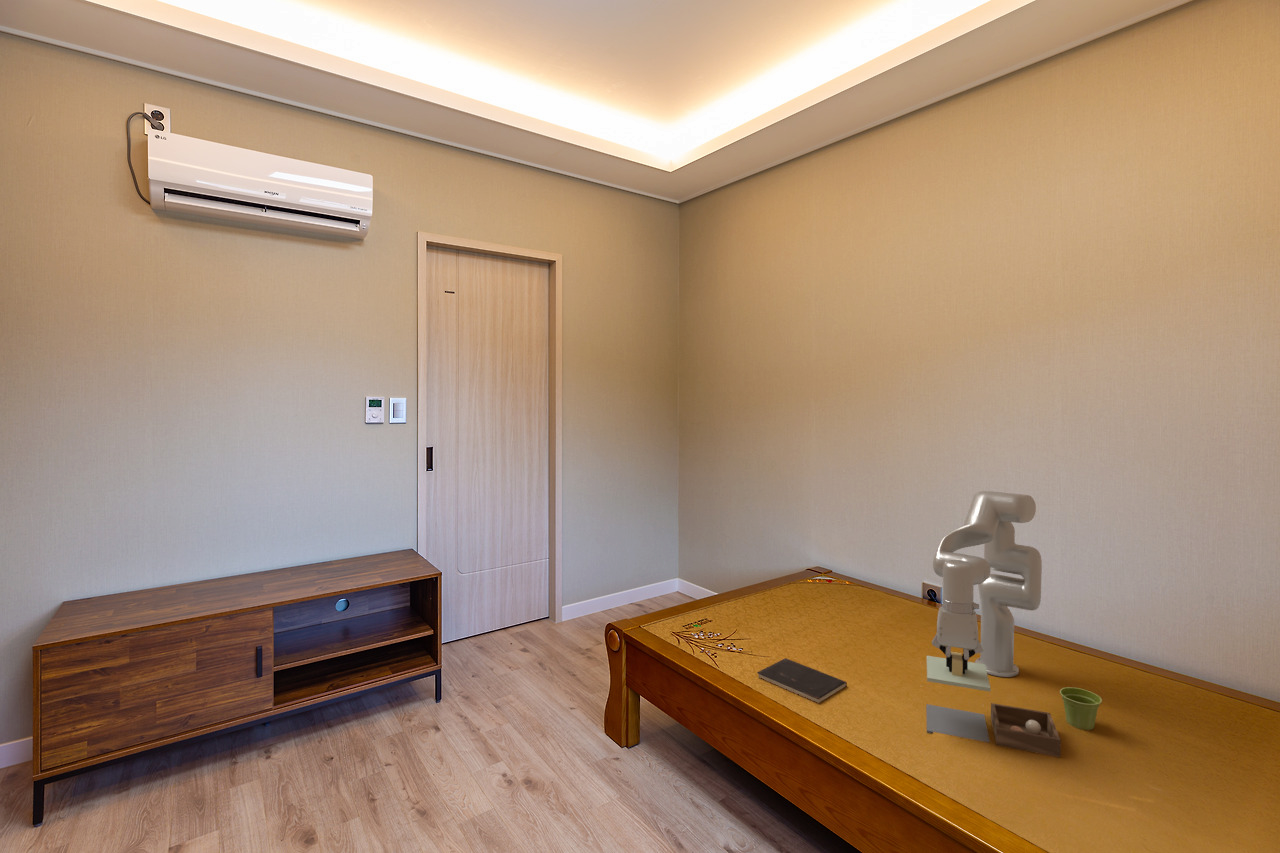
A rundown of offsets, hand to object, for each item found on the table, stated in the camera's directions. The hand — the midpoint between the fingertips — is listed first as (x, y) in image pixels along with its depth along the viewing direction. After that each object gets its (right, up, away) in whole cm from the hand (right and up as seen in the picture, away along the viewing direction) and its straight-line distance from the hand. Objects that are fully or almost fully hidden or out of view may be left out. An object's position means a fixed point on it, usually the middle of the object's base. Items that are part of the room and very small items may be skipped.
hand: (956, 670), depth 170 cm
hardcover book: (-36, -15, +28) cm, 48 cm away
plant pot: (+34, -15, -1) cm, 37 cm away
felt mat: (0, -16, +1) cm, 16 cm away
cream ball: (+18, -15, -5) cm, 24 cm away
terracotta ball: (+12, -15, -8) cm, 21 cm away
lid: (0, -1, 0) cm, 1 cm away
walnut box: (+15, -16, -6) cm, 22 cm away
